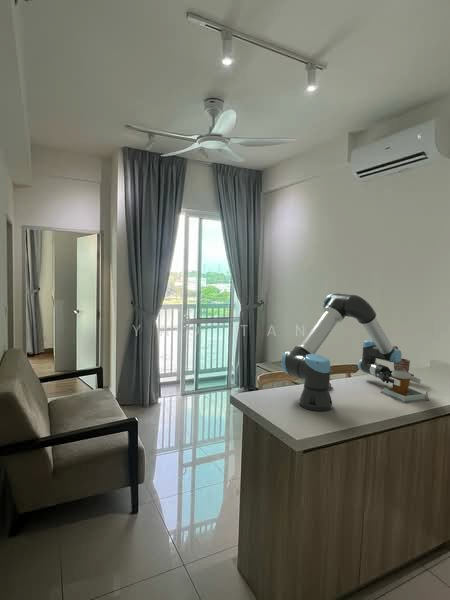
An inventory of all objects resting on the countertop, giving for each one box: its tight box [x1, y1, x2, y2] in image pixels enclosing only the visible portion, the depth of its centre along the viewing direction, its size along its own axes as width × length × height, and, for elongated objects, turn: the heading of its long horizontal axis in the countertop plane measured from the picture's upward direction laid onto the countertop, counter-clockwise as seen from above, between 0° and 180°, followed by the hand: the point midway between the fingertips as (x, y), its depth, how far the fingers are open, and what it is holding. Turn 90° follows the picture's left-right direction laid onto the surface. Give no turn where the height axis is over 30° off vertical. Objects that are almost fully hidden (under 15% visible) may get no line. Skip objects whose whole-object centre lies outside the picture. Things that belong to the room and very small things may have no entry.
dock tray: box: [380, 386, 430, 404], centre depth 190 cm, size 16×16×5 cm
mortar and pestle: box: [393, 345, 411, 372], centre depth 219 cm, size 12×9×20 cm
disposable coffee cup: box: [391, 369, 412, 396], centre depth 190 cm, size 10×10×12 cm
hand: (410, 382), depth 187 cm, fingers open, 13 cm apart
